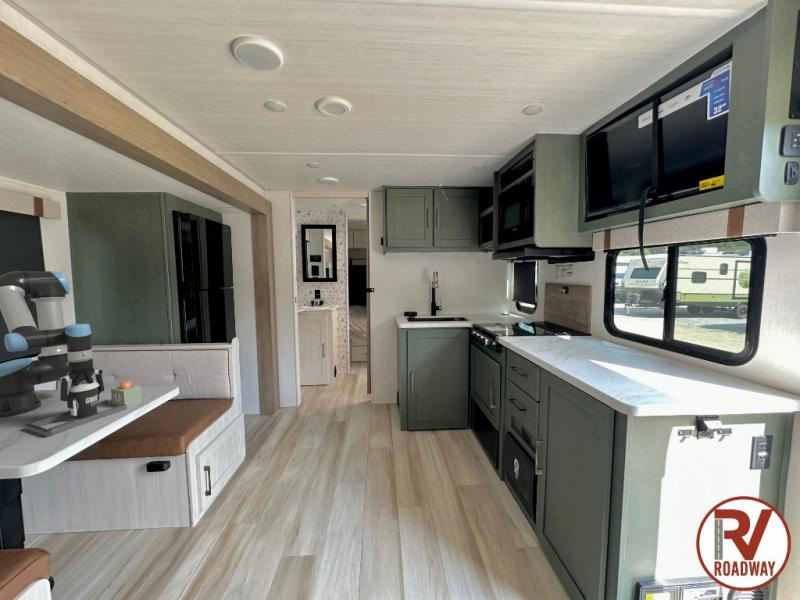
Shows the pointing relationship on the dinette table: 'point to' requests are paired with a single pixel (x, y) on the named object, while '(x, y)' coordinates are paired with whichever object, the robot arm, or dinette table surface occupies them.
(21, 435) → the dinette table surface
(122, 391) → the cabinet
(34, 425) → the gray rectangular frame
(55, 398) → the dinette table surface
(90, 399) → the coffee cup
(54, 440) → the dinette table surface
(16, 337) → the robot arm
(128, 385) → the egg
